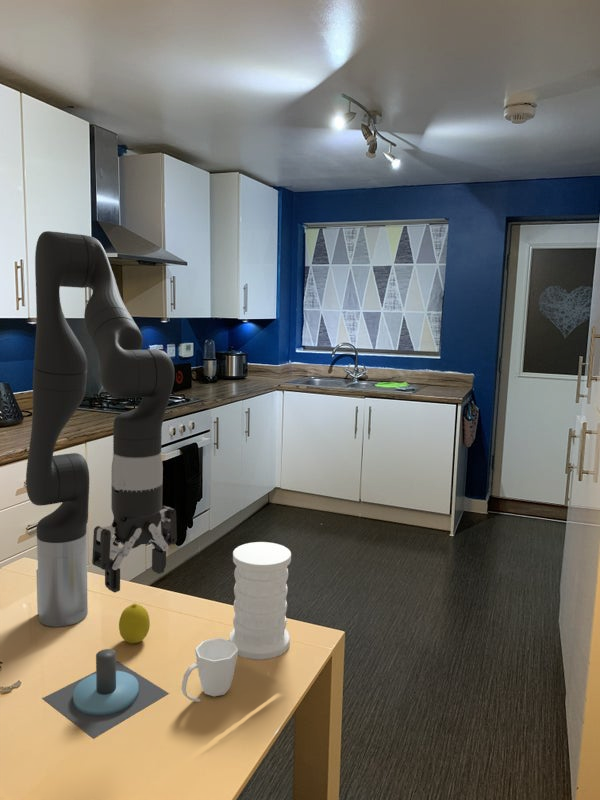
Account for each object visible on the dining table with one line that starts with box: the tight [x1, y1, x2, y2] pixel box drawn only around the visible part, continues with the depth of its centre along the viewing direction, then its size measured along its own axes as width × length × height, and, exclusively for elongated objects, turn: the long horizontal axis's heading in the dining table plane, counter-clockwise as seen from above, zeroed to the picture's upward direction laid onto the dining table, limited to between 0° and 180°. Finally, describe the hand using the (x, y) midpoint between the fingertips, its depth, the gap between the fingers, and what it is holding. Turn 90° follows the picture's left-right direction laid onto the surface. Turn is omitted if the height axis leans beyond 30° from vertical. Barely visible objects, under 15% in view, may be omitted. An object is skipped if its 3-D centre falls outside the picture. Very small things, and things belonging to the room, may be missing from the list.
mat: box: [41, 660, 170, 739], centre depth 99 cm, size 14×14×1 cm
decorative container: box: [228, 541, 292, 661], centre depth 116 cm, size 12×12×18 cm
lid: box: [73, 648, 139, 716], centre depth 99 cm, size 10×10×7 cm
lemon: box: [118, 603, 151, 644], centre depth 115 cm, size 6×6×8 cm
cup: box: [181, 637, 238, 703], centre depth 100 cm, size 7×10×8 cm
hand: (136, 580), depth 96 cm, fingers open, 8 cm apart
